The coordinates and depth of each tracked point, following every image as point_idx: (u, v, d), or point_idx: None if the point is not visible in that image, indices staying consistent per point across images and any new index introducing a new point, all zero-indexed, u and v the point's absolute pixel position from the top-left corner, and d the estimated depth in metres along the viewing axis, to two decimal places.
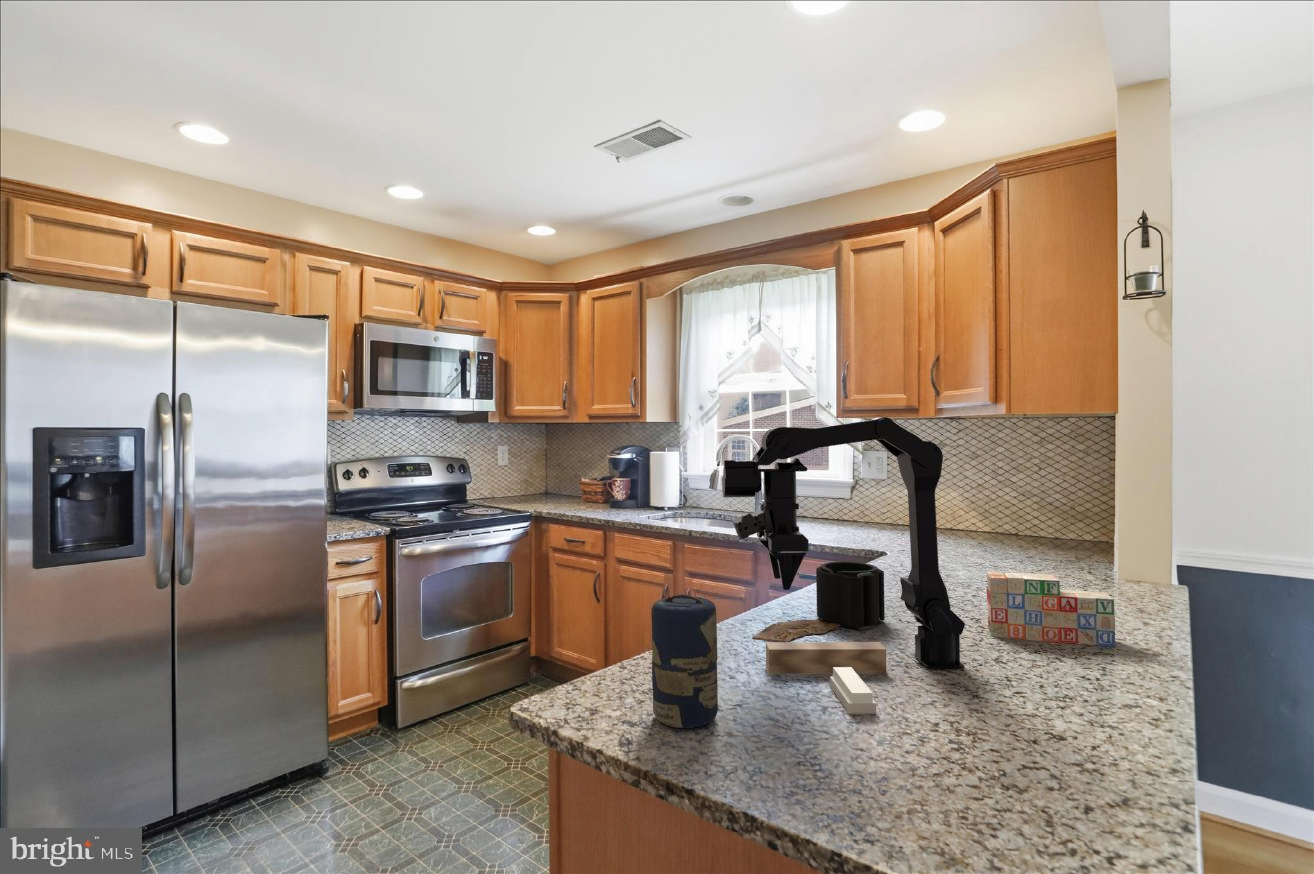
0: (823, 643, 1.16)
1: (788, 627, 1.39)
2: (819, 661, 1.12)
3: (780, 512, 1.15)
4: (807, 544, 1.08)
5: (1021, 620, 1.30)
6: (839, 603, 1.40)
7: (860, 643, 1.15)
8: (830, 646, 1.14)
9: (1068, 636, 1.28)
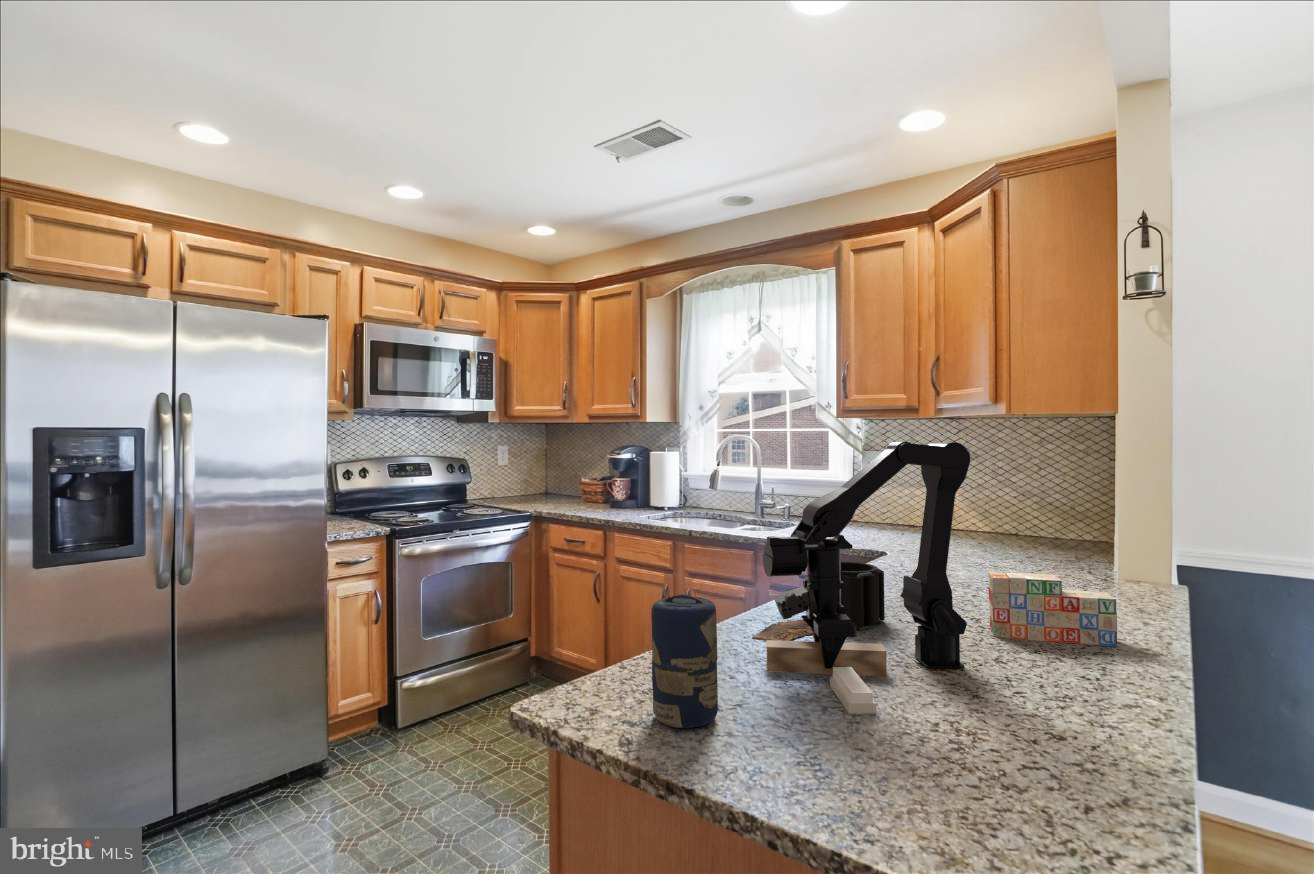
0: None
1: (788, 627, 1.39)
2: (817, 660, 1.12)
3: (824, 592, 1.12)
4: (855, 630, 1.05)
5: (1023, 620, 1.30)
6: None
7: (862, 644, 1.14)
8: None
9: (1070, 636, 1.28)
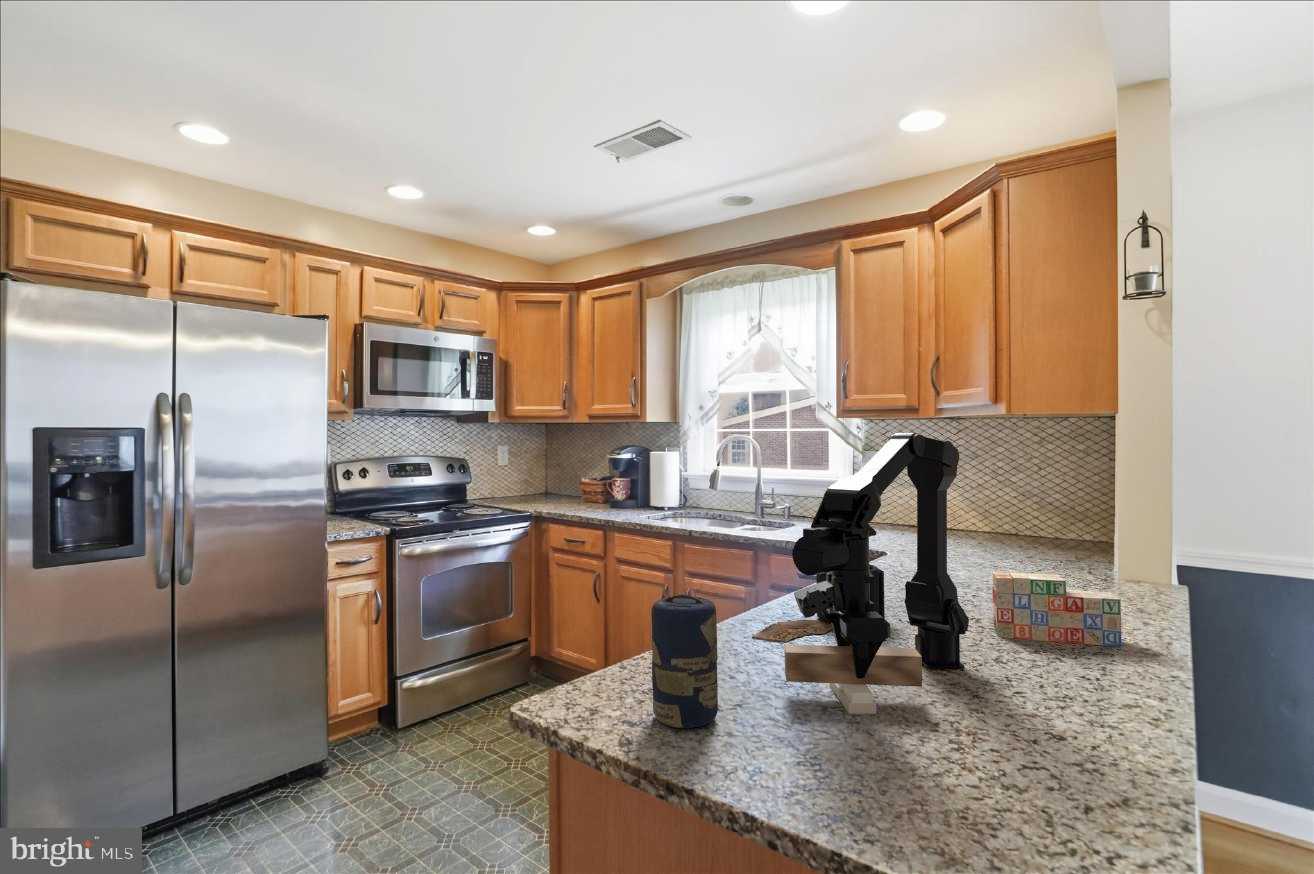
0: (849, 647, 1.03)
1: (788, 627, 1.39)
2: (843, 667, 0.99)
3: (852, 586, 0.99)
4: (889, 629, 0.92)
5: (1027, 620, 1.30)
6: None
7: (892, 649, 1.02)
8: None
9: (1074, 636, 1.27)
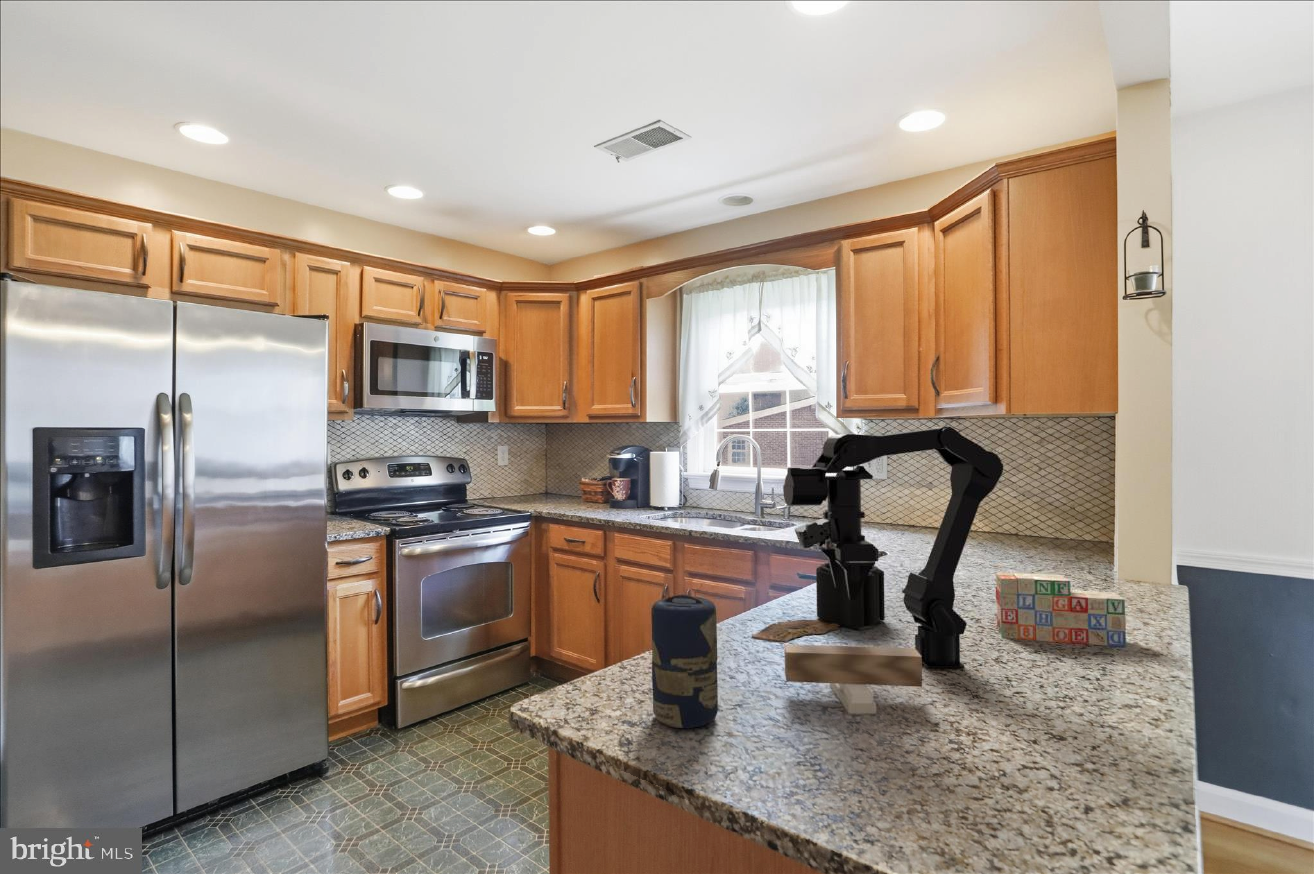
0: (849, 647, 1.03)
1: (788, 627, 1.39)
2: (843, 667, 0.99)
3: (845, 521, 1.13)
4: (877, 554, 1.06)
5: (1032, 621, 1.30)
6: (839, 603, 1.40)
7: (892, 649, 1.02)
8: (857, 651, 1.01)
9: (1078, 636, 1.27)
